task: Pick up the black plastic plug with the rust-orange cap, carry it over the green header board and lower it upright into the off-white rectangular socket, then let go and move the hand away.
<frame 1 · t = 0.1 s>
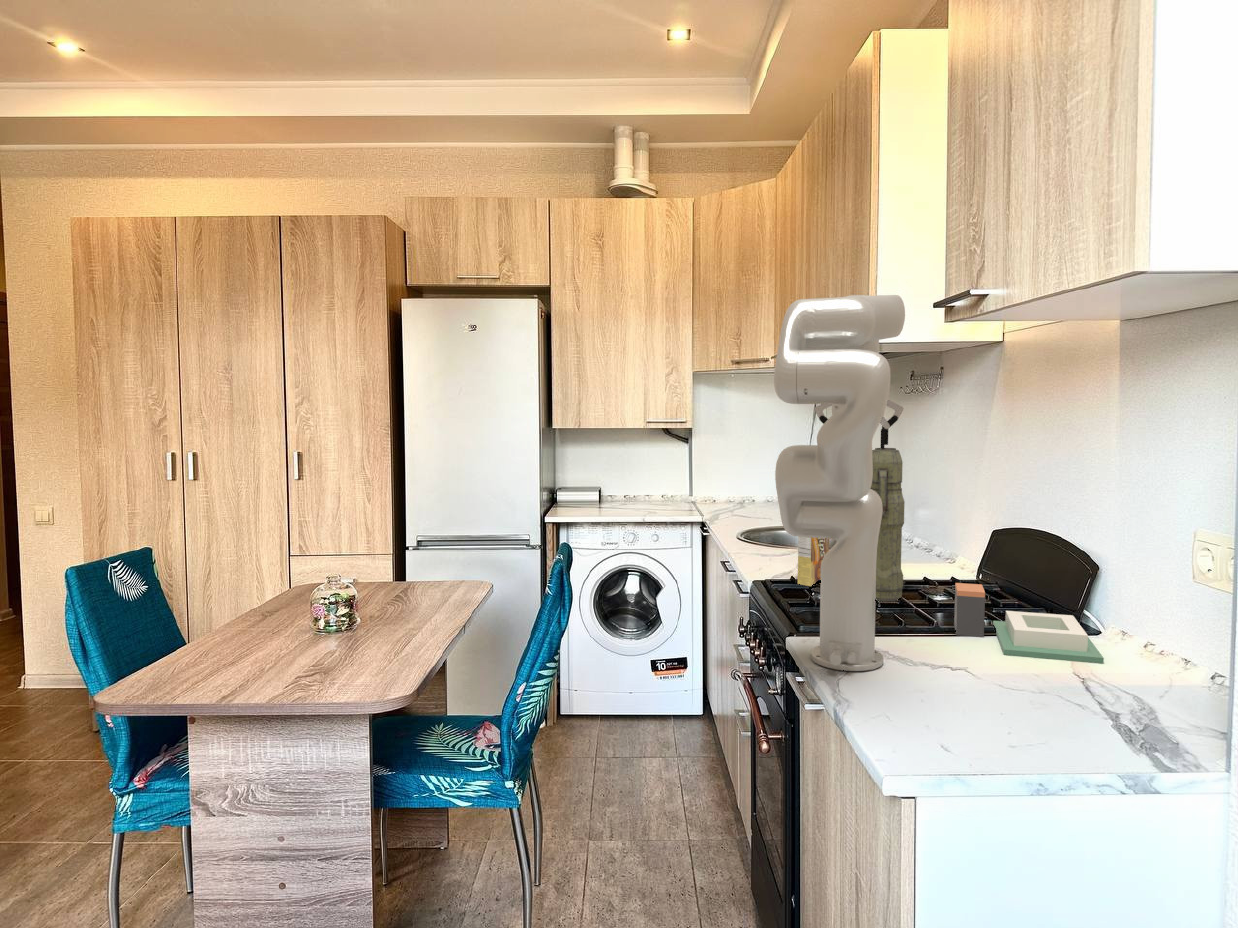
hand: (857, 448, 167), 37 cm above the countertop, tool pointing down, fingers open, 9 cm apart
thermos: (882, 597, 193), on the countertop
plug: (968, 631, 165), on the countertop
candy box: (813, 583, 208), on the countertop
header board: (1043, 642, 157), on the countertop
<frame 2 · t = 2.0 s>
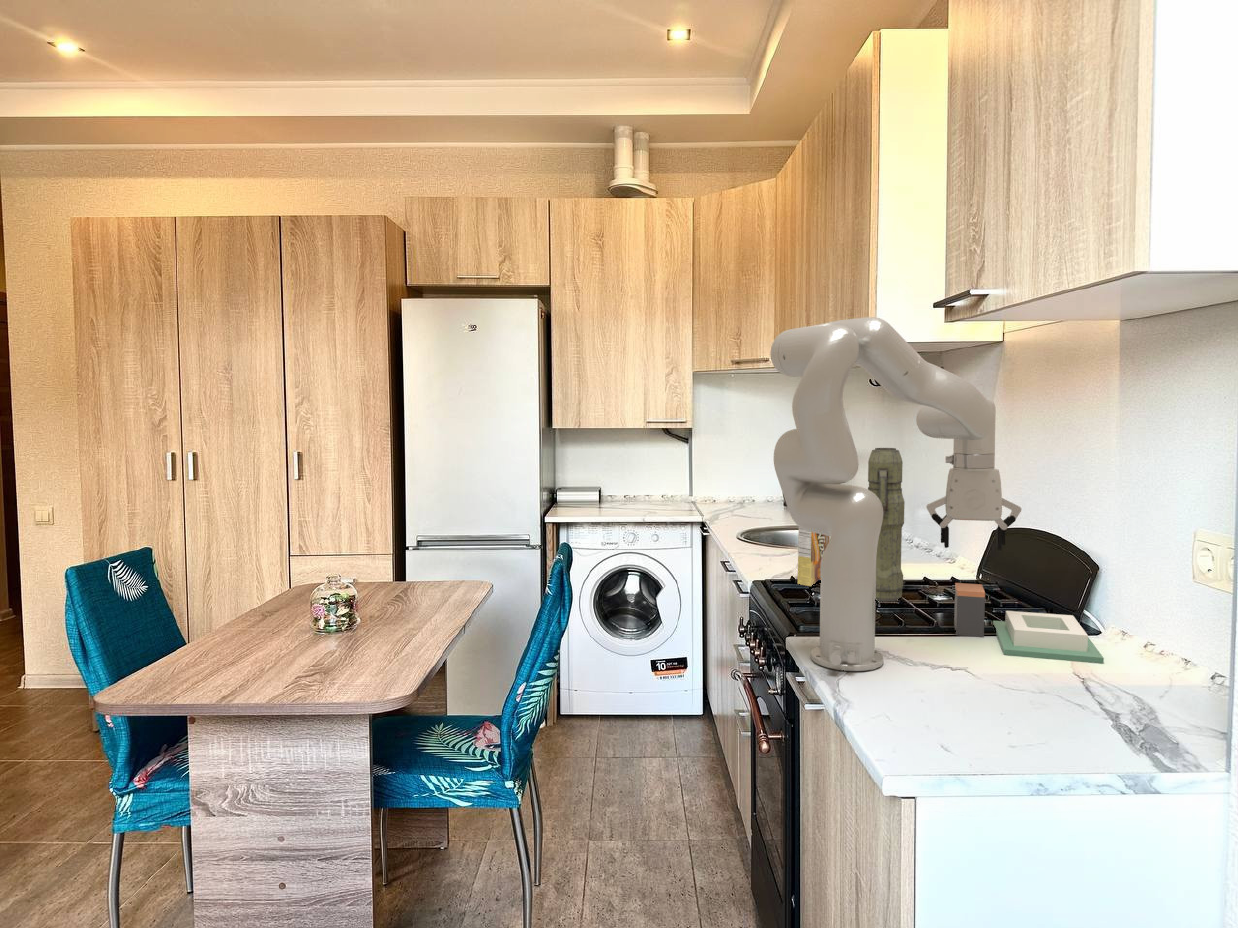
hand: (972, 547, 163), 17 cm above the countertop, tool pointing down, fingers open, 9 cm apart
nothing on the countertop moved.
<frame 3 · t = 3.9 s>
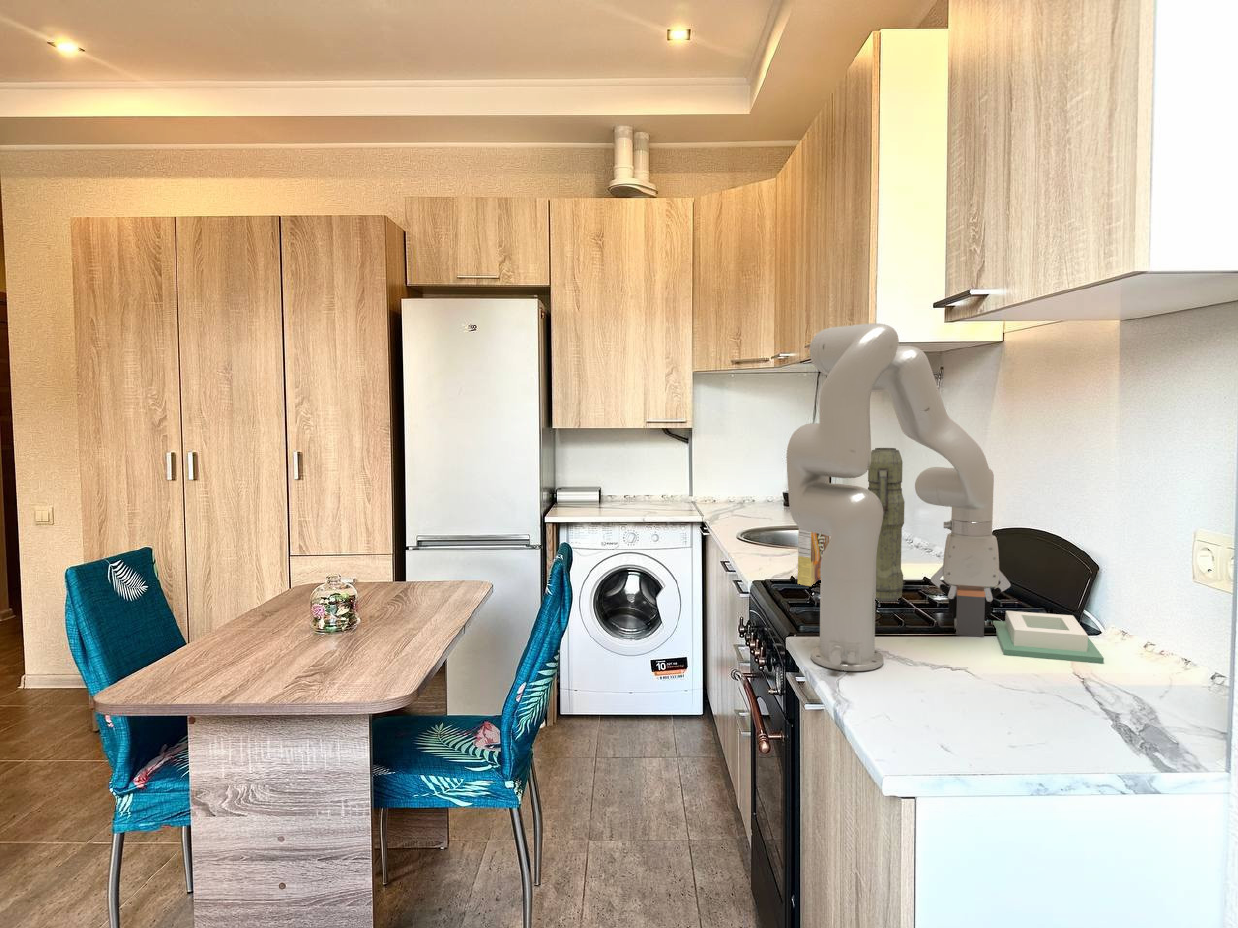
hand: (969, 617, 164), 3 cm above the countertop, tool pointing down, fingers closed on plug, 5 cm apart
plug: (968, 631, 165), on the countertop, touching gripper
everything else where it was.
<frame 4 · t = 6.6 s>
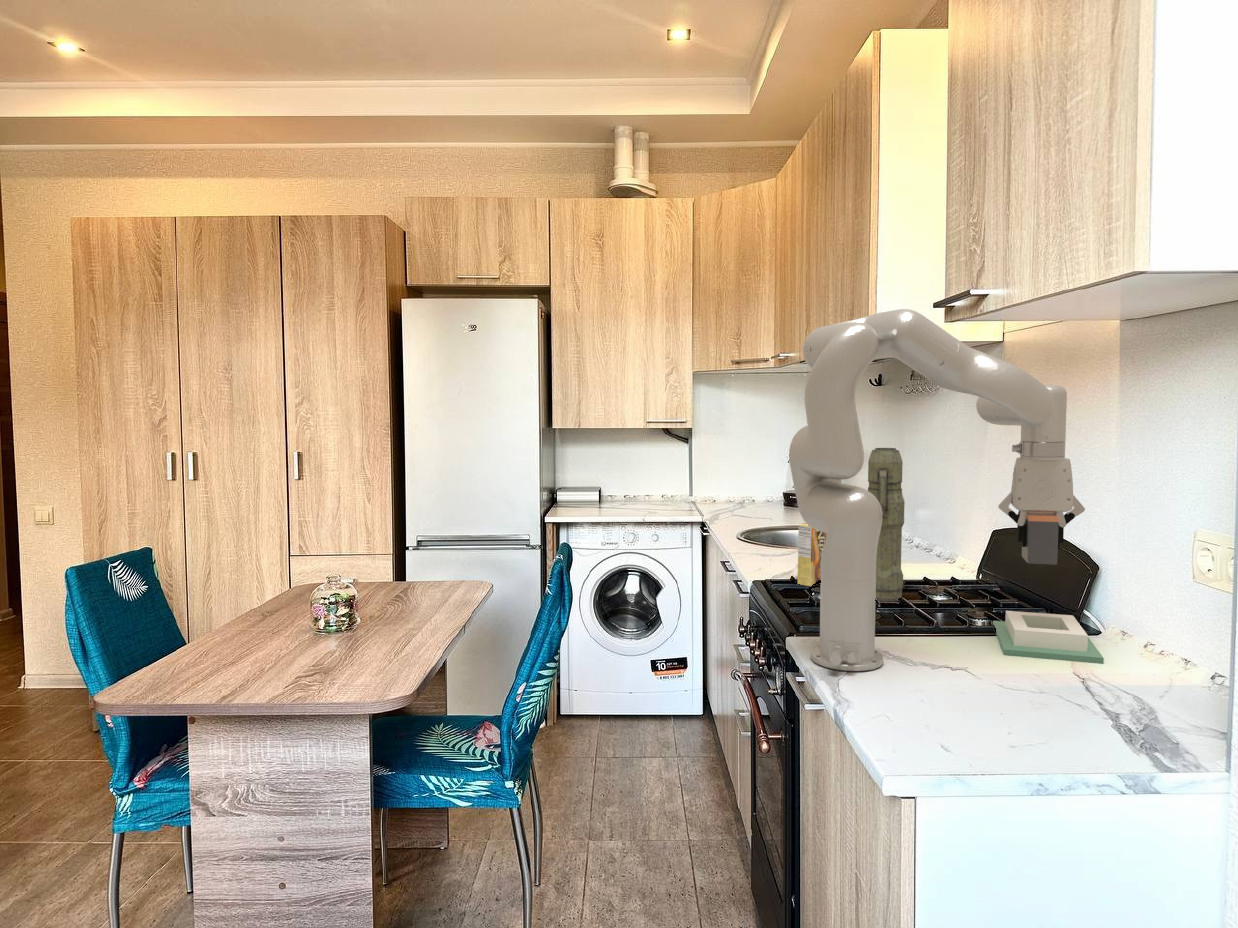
hand: (1039, 545, 156), 19 cm above the countertop, tool pointing down, fingers closed on plug, 5 cm apart
plug: (1039, 560, 156), point 16 cm above the countertop, touching gripper
everything else where it was.
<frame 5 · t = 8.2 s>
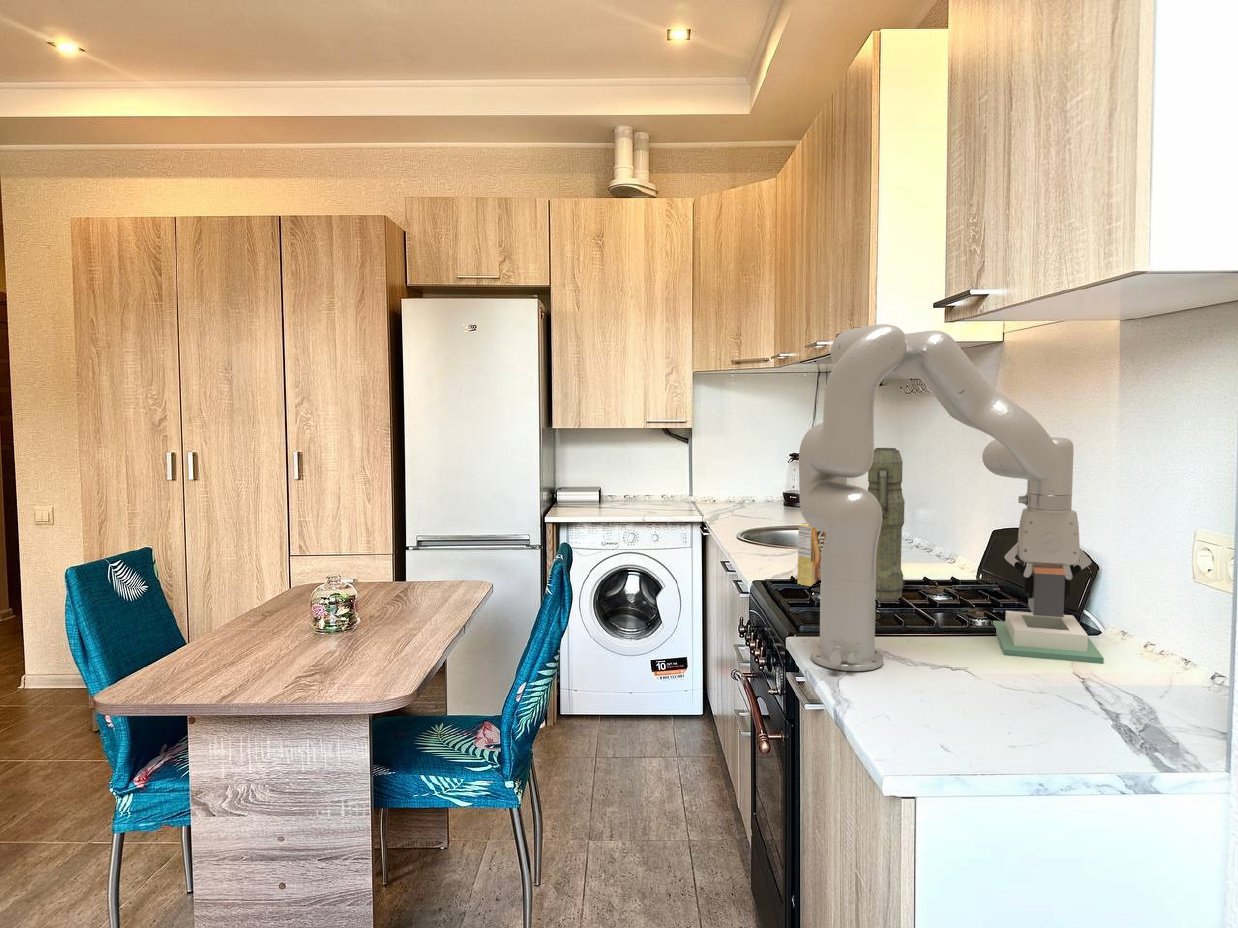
hand: (1045, 596, 156), 9 cm above the countertop, tool pointing down, fingers closed on plug, 5 cm apart
plug: (1045, 611, 156), point 6 cm above the countertop, touching gripper
everything else where it was.
when the fingers open (5 cm above the countertop, at t = 9.4 s): plug drops 1 cm, resting on header board.
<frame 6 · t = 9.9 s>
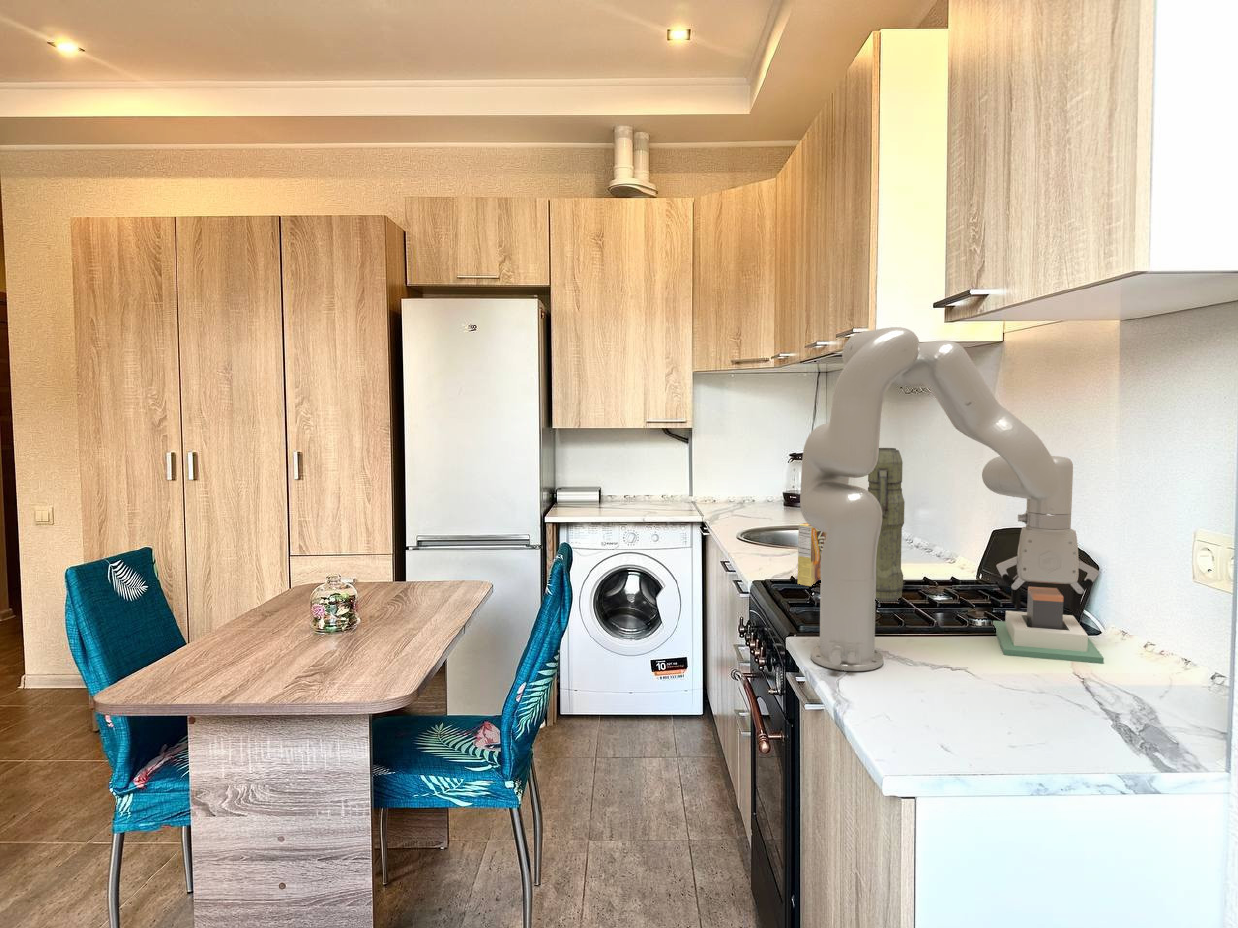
hand: (1045, 610, 156), 6 cm above the countertop, tool pointing down, fingers open, 9 cm apart
plug: (1043, 637, 157), point 1 cm above the countertop, touching header board
everything else where it was.
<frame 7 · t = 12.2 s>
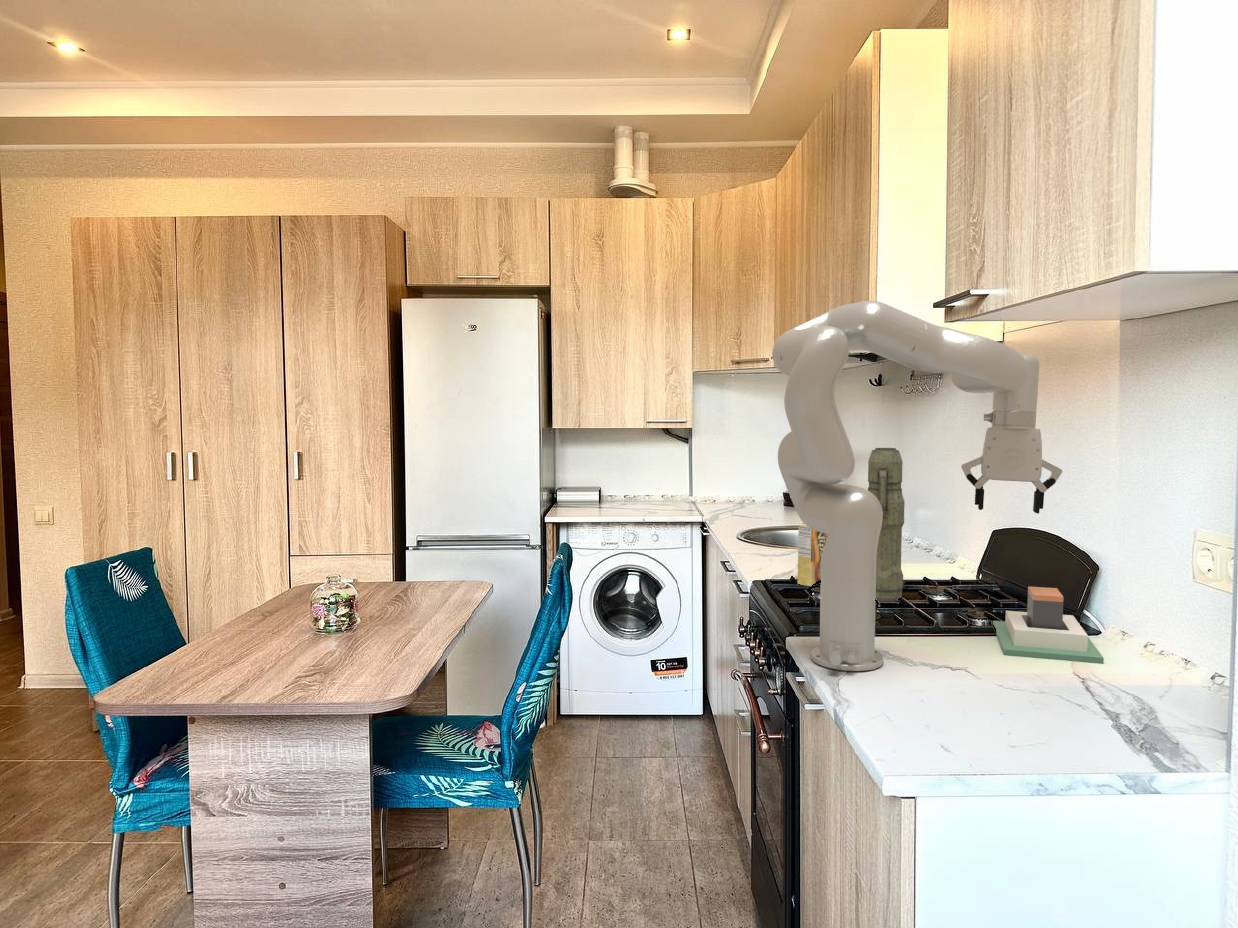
hand: (1008, 510, 156), 25 cm above the countertop, tool pointing down, fingers open, 9 cm apart
nothing on the countertop moved.
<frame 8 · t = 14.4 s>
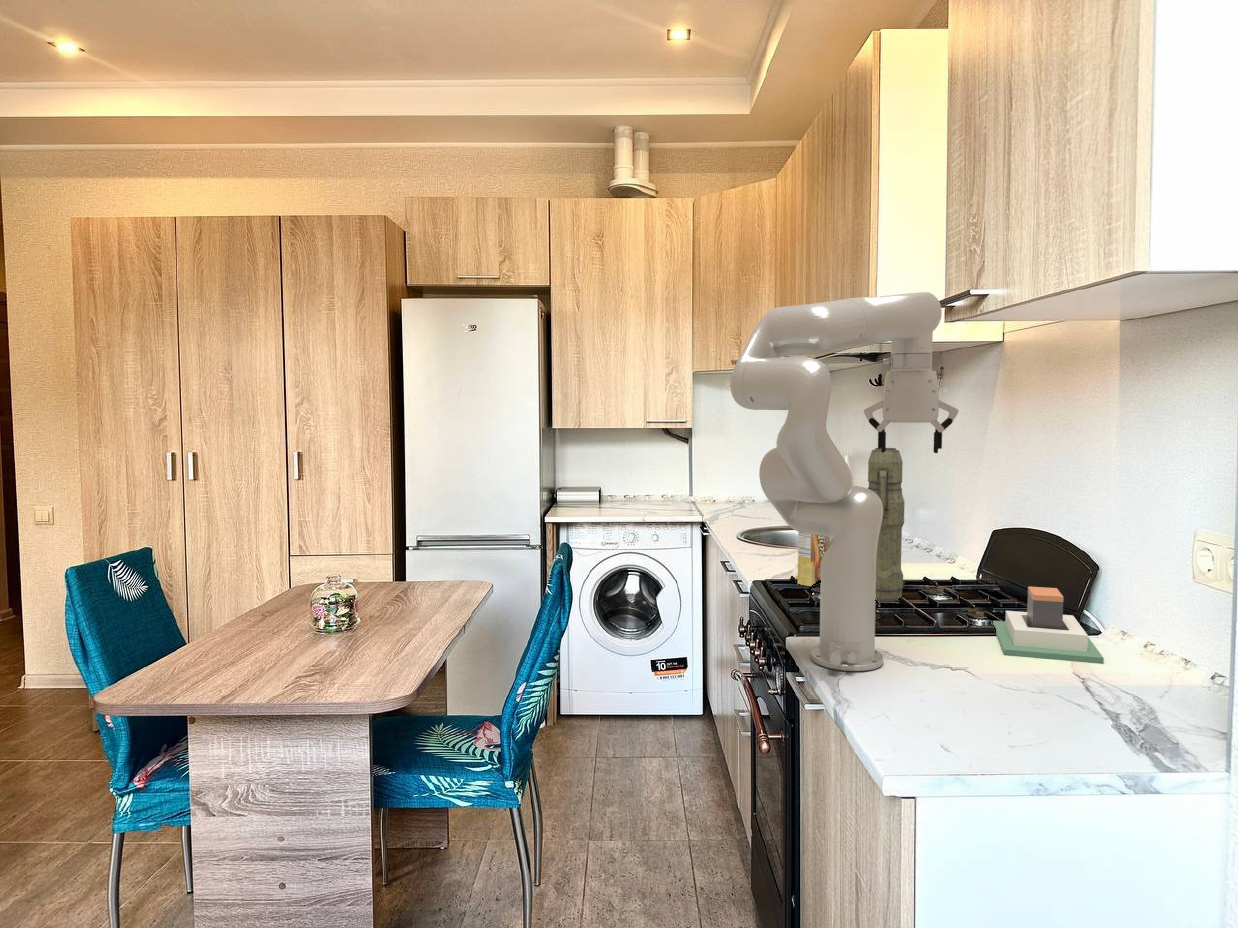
hand: (909, 452, 160), 36 cm above the countertop, tool pointing down, fingers open, 9 cm apart
nothing on the countertop moved.
at the end: plug 0.1 cm off-centre on the header board, point 1.0 cm above the header board's base; plug tilted 0°; the gripper is holding nothing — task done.
